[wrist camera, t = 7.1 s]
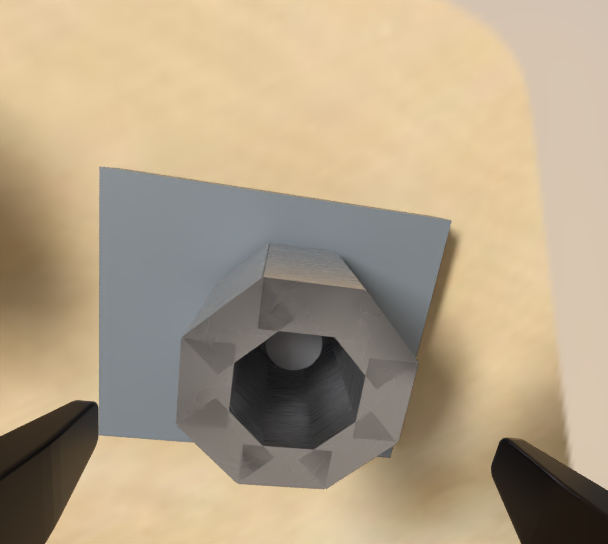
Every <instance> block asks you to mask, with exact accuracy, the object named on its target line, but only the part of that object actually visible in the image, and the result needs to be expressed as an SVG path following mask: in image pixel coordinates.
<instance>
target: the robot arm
mask: <svg viewBox="0 0 608 544" xmlns="http://www.w3.org/2000/svg"><path fill="white" fill-rule="evenodd" d="M98 434H99V426H98V405H97V403H96V402H93V401H82V400H76V401H73V402H70V403H68V404H66V405H64V406H62V407H60V408H58V409H56V410H54V411H52V412H50V413H48V414H46V415H43V416H41V417H39V418H37V419H35V420H33V421H31V422H29V423H27V424H25V425H23V426H21V427H19V428H17V429H15V430H12V431H10V432H8V433H6V434H4V435H2V436H0V544H45V543H46V541H47V540H48V538H49V536H50V535H51V533H52V531H53V529H54V528H55V526H56V524H57V522H58V520H59V518H60V516H61V515H62V513H63V511H64V509H65V507H66V505H67V503H68V501H69V499H70V497H71V495H72V493H73V491H74V489H75V487H76V485H77V483H78V481H79V479H80V477H81V475H82V473H83V471H84V469H85V467H86V465H87V463H88V461H89V459H90V457H91V455H92V453H93V451H94V449H95V447H96V444H97V441H98ZM491 473H492V477H493V480H494V482H495V485H496V487H497V489H498V492H499V494H500V496H501V498H502V501H503V503H504V505H505V508H506V510H507V512H508V515H509V517H510V519H511V521H512V524H513V526H514V528H515V531H516V533H517V535H518V538H519V540H520V542H521V544H608V490H605V489H604V488H602V487H601V486H599V485H598V484H596V483H594V482H593V481H591V480H589V479H587V478H586V477H584V476H582V475H581V474H579V473H577V472H576V471H574V470H572V469H571V468H569V467H567V466H566V465H564V464H562V463H561V462H559V461H557V460H556V459H554V458H552V457H551V456H549V455H547V454H546V453H544V452H542V451H541V450H539V449H537V448H536V447H534V446H532V445H531V444H529V443H527V442H526V441H524V440H521V439H516V438H503V439H502V440H501V441H500V442H499V445H498V448H497V451H496V454H495V456H494V459H493V462H492V465H491Z"/></svg>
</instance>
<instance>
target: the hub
mask: <svg viewBox="0 0 608 544" xmlns="http://www.w3.org/2000/svg"><path fill="white" fill-rule="evenodd" d="M278 331H283V332H292V333H302V334H311V335H320V336H329V337H332V340H331V343H329V344H328V345H326V346H325V347H323V348H322V350H321V353H320V355H319V357H318V358H317V359H316V361H315V362H314V363H312V364H311V365H310V366H308V367H306V368H303V369H300V370H287V369H284V368H281V367H279V366H277V365H276V364H275V363H274V362H273V361H272V360H271V359H270V358H268V357H267V356H266V354H265V353H264V352H263V351H262V350H261V349H260V348H259V346H258V345H260V344H261V343H263V342H264V341H265V340H267V339H268V338H270V337H271V336H272V335H274V334H275V333H277V332H278ZM418 364H419V363H418V360H417V359H416V358H415V356H414V355H413V353H412V352H411V351H410V349H409V348H408V347H407V345H406V344H405V342H404V341H403V340H402V338H401V337H400V336H399V334H398V333H397V332H396V330H395V329H394V327H393V326H392V325H391V323H390V322H389V321H388V319H387V318H386V316H385V315H384V314H383V312H382V311H381V310H380V308H379V307H378V306H377V304H376V303H375V301H374V300H373V299H372V297H371V296H370V295H369V293H368V292H367V290H366V289H365V288H364V287H363V285H362V284H361V283H360V281H359V280H358V279H357V278H356V276H355V275H354V274H353V272H352V271H351V270H350V269H349V267H348V266H347V265H346V264H345V262H344V261H343V260H342V258H341V257H340V256H339V255H338V253H337V252H336V251H331V250H324V249H317V248H309V247H302V246H294V245H287V244H279V243H272V242H270V243H268V244H266V245H265V246H264V247H262V248H261V249H260V250H259V251H257V252H256V253H255V254H253V255H252V256H251V257H249V258H248V259H247V260H245V261H244V262H243V263H241V264H240V265H239V266H237V267H236V268H235V269H233V270H232V271H231V272H229V273H228V274H227V275H225V276H224V277H223V278H221V279H220V280H219V281H218V282H217V283H216V285H215V286H214V288H213V289H212V291H211V292H210V294H209V296H208V297H207V299H206V300H205V302H204V303H203V305H202V307H201V308H200V310H199V311H198V313H197V314H196V316H195V317H194V319H193V321H192V322H191V324H190V325H189V327H188V328H187V330H186V332H185V333H184V335H183V336H182V338H181V350H180V366H179V382H178V398H177V414H176V424H177V425H176V426H177V427H178V428H179V429H180V430H182V431H183V432H184V433H185V434H186V435H187V436H188V437H189V438H190V439H191V440H192V441H193V442H194V443H195V444H196V445H197V446H198V447H199V448H200V449H201V450H202V451H204V452H205V453H206V454H207V455H208V456H209V457H210V458H211V459H212V460H213V461H214V462H215V463H216V464H217V465H218V466H219V467H220V468H221V469H222V470H223V471H224V472H226V473H227V474H228V475H229V476H230V477H231V478H232V479H233V480H234V481H235V482H236V483H238V482H239V483H238V484H247V485H263V486H279V487H295V488H311V489H325V488H326V489H327V488H329V487H330V486H332V485H333V484H335V483H336V482H338V481H339V480H341V479H342V478H344V477H346V476H347V475H349V474H350V473H352V472H353V471H355V470H356V469H358V468H359V467H361V466H363V465H364V464H366V463H367V462H369V461H370V460H372V459H373V458H375V457H377V456H378V455H380V454H381V453H383V452H384V451H386V450H387V449H389V448H390V447H392V446H394V445H395V444H397V442H398V441H399V438H400V434H401V430H402V426H403V422H404V418H405V414H406V410H407V406H408V403H409V399H410V395H411V391H412V387H413V383H414V379H415V375H416V371H417V368H418Z"/></svg>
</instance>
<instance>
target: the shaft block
mask: <svg viewBox="0 0 608 544" xmlns="http://www.w3.org/2000/svg"><path fill="white" fill-rule="evenodd" d="M450 225H451V220H447V219H442V218H438V217H433V216H426V215H420V214H413V213H407V212H400V211H394V210H387V209H381V208H374V207H368V206H361V205H355V204H348V203H341V202H335V201H328V200H322V199H315V198H309V197H302V196H296V195H289V194H283V193H276V192H270V191H263V190H257V189H250V188H244V187H237V186H231V185H224V184H218V183H211V182H205V181H198V180H192V179H185V178H179V177H172V176H166V175H159V174H153V173H146V172H140V171H133V170H127V169H120V168H110V167H100V195H99V435H103V436H116V437H128V438H141V439H154V440H167V441H180V442H193V441H192V440H191V439H190V438H189V437H188V436H187V435H186V434H185V433H184V432H183V431H182V430H180V429H179V428H178V427H177V426H176V425H177V424H176V414H177V398H178V382H179V366H180V350H181V338H182V336H183V335H184V333H185V332H186V330H187V328H188V327H189V325H190V324H191V322H192V321H193V319H194V317H195V316H196V314H197V313H198V311H199V310H200V308H201V307H202V305H203V303H204V302H205V300H206V299H207V297H208V296H209V294H210V292H211V291H212V289H213V288H214V286H215V285H216V283H217V282H218V281H219V280H220V279H221V278H223V277H224V276H225V275H227V274H228V273H229V272H231V271H232V270H233V269H235V268H236V267H237V266H239V265H240V264H241V263H243V262H244V261H245V260H247V259H248V258H249V257H251V256H252V255H253V254H255V253H256V252H257V251H259V250H260V249H261V248H262V247H264V246H265V245H266V244H268V243H270V242H272V243H279V244H287V245H294V246H302V247H309V248H317V249H324V250H331V251H336V252H337V253H338V255H339V256H340V257H341V258H342V260H343V261H344V262H345V264H346V265H347V266H348V267H349V269H350V270H351V271H352V272H353V274H354V275H355V276H356V278H357V279H358V280H359V281H360V283H361V284H362V285H363V287H364V288H365V289H366V290H367V292H368V293H369V295H370V296H371V297H372V299H373V300H374V301H375V303H376V304H377V306H378V307H379V308H380V310H381V311H382V312H383V314H384V315H385V316H386V318H387V319H388V321H389V322H390V323H391V325H392V326H393V327H394V329H395V330H396V332H397V333H398V334H399V336H400V337H401V338H402V340H403V341H404V342H405V344H406V345H407V347H408V348H409V349H410V351H411V352H412V353H413V355H414V356H415V358H416V356H417V352H418V349H419V345H420V341H421V337H422V333H423V329H424V325H425V321H426V318H427V314H428V310H429V306H430V302H431V298H432V294H433V291H434V287H435V283H436V279H437V275H438V271H439V267H440V264H441V260H442V256H443V252H444V248H445V244H446V240H447V237H448V233H449V229H450ZM331 340H332V337H329V336H320V335H311V334H302V333H292V332H283V331H278V332H277V333H275V334H274V335H272V336H271V337H270V338H268V339H267V340H265V341H264V342H263V343H261V344H260V345H258V346H259V348H260V349H261V350H262V351H263V352H264V353H265V354H266V356H267V357H268V358H270V359H271V360H272V361H273V362H274V363H275V364H276V365H277V366H279V367H281V368H284V369H287V370H300V369H303V368H306V367H308V366H310V365H311V364H312V363H314V362H315V361H316V359H317V358H318V357H319V355H320V353H321V350H322V348H323V347H325V346H326V345H328V344H329V343H331ZM193 443H194V442H193ZM392 449H393V446H392V447H390V448H389V449H387V450H386V451H384V452H383V453H381V454H380V455H378V456H377V457H387V458H390V457H391V453H392Z"/></svg>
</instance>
